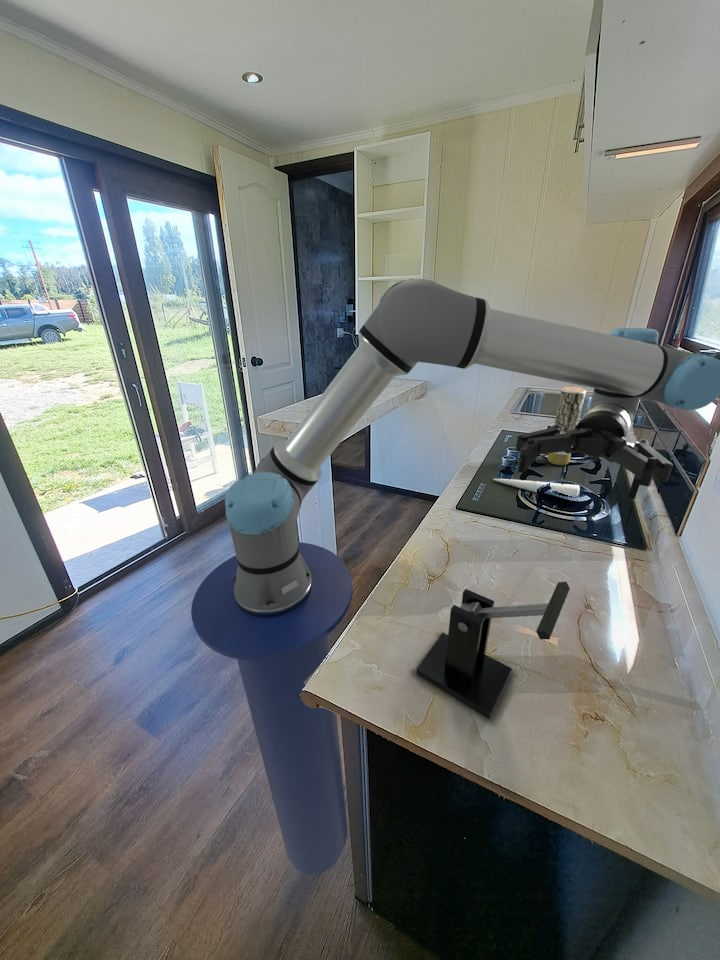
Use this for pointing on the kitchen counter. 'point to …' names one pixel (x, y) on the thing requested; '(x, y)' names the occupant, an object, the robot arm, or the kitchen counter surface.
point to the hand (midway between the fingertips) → (574, 475)
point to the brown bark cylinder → (567, 418)
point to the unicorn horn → (531, 485)
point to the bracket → (466, 660)
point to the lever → (528, 610)
